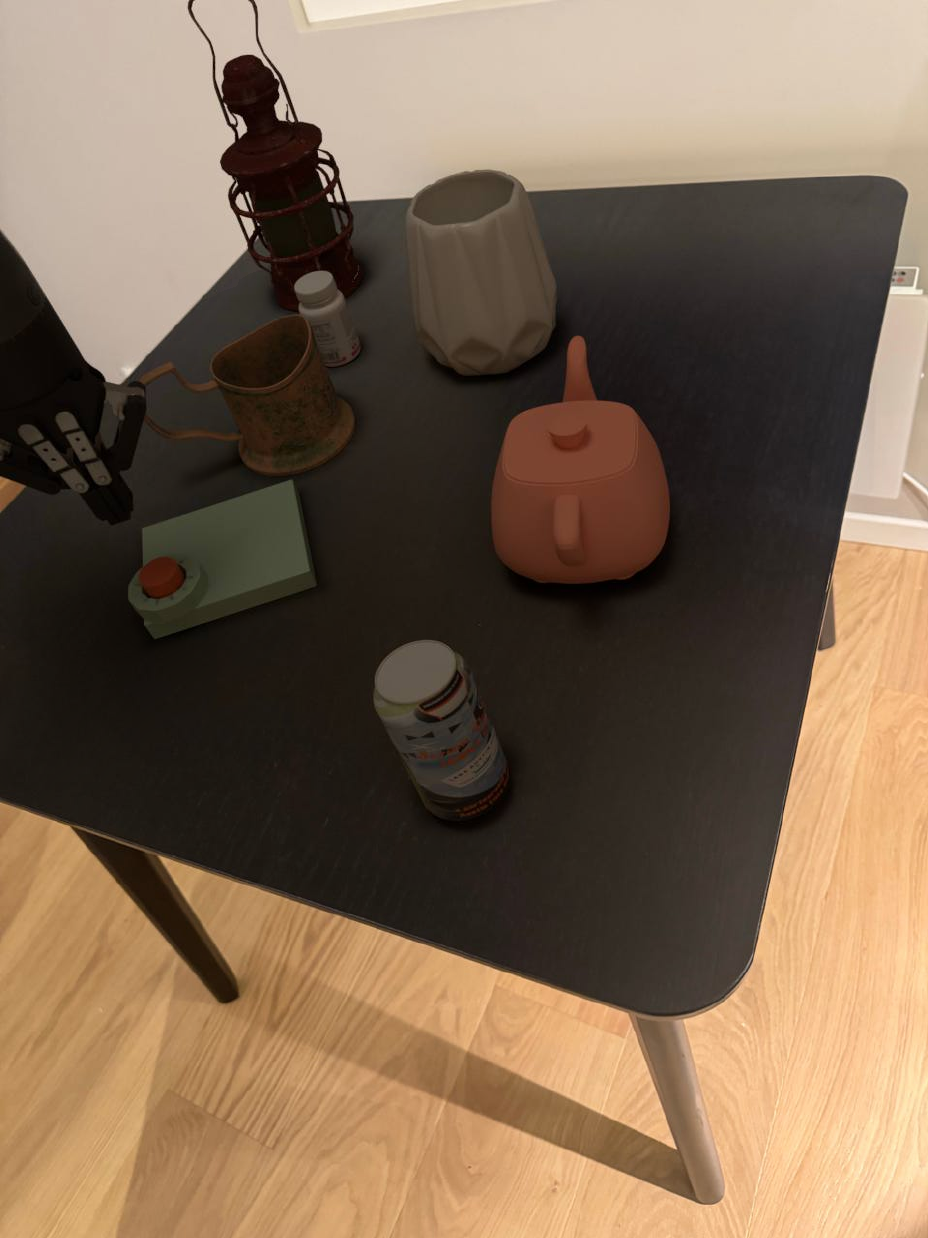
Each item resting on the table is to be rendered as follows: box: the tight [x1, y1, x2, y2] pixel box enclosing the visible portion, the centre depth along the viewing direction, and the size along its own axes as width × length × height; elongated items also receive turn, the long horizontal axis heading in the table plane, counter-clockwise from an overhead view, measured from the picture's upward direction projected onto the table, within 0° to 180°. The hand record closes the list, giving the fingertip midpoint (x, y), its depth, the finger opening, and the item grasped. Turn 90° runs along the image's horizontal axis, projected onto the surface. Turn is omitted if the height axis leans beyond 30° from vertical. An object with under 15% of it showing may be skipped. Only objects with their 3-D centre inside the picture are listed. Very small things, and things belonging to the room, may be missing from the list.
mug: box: [137, 313, 356, 477], centre depth 85 cm, size 12×18×12 cm, turn 117°
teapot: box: [490, 335, 671, 585], centre depth 69 cm, size 13×20×12 cm, turn 173°
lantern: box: [187, 0, 364, 312], centre depth 96 cm, size 12×12×30 cm
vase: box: [404, 169, 558, 377], centre depth 87 cm, size 14×14×15 cm
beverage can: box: [372, 639, 511, 822], centre depth 57 cm, size 6×7×12 cm
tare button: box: [139, 557, 184, 599], centre depth 75 cm, size 3×3×2 cm
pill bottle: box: [294, 271, 361, 368], centre depth 94 cm, size 5×5×8 cm
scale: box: [127, 479, 318, 640], centre depth 79 cm, size 14×13×4 cm
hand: (121, 515), depth 70 cm, fingers closed
